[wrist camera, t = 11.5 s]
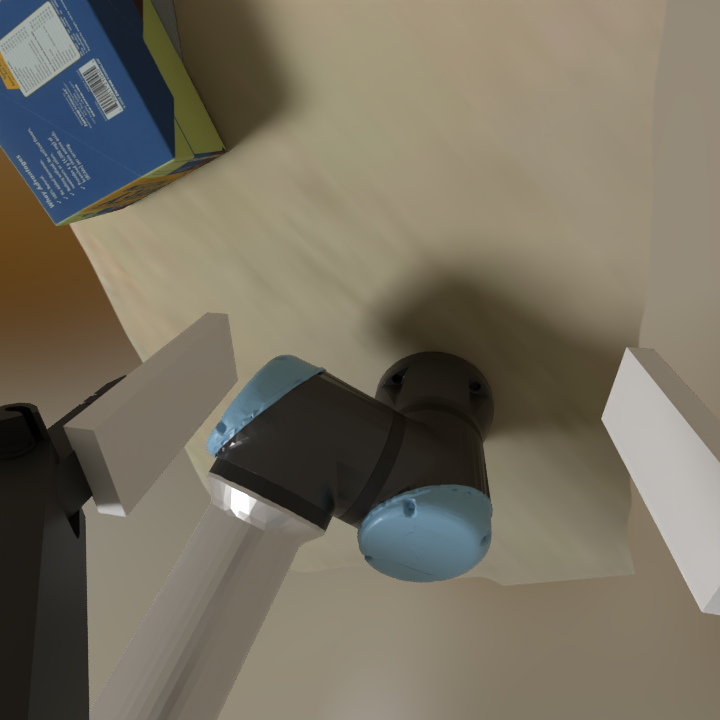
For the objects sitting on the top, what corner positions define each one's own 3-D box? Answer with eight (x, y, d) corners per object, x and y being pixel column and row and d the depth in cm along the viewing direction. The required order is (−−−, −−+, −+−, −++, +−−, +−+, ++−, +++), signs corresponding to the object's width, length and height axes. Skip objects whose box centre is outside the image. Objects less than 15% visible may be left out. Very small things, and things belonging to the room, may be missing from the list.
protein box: (229, 153, 45) (124, 209, 51) (143, -17, 39) (35, 67, 45) (175, 161, 36) (55, 229, 42) (54, -58, 30) (-69, 53, 36)
